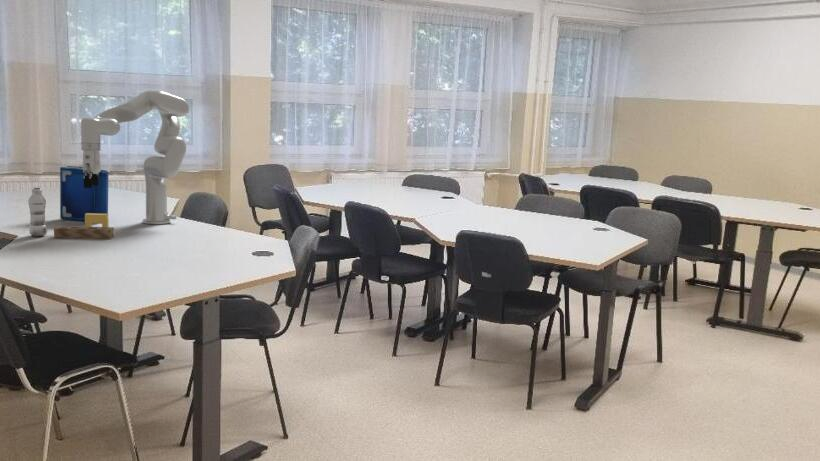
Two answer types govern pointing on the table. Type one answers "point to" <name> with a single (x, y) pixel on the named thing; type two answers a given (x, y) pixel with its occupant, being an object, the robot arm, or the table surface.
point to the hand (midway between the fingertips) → (91, 186)
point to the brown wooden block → (84, 232)
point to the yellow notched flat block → (96, 219)
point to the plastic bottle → (37, 213)
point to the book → (81, 194)
